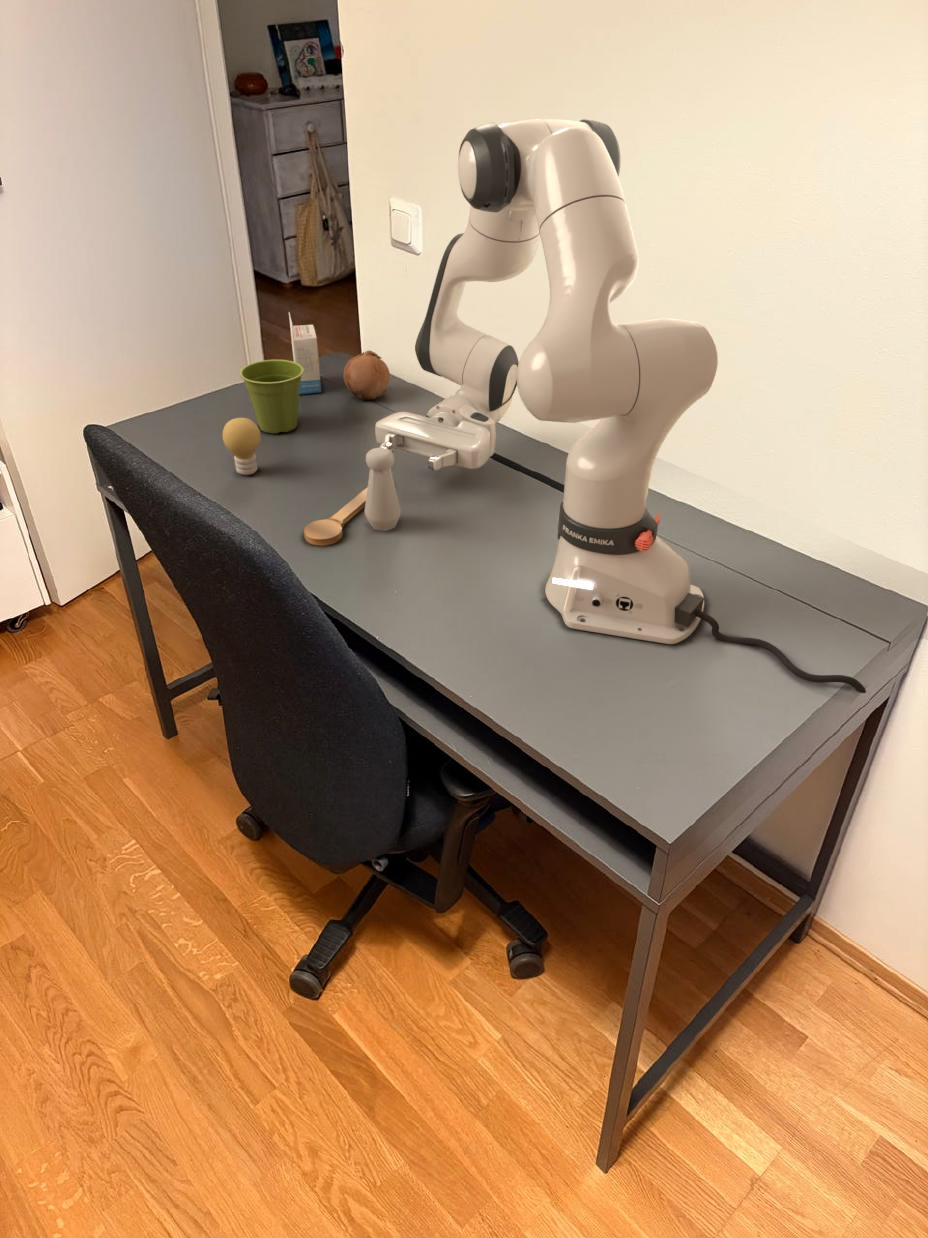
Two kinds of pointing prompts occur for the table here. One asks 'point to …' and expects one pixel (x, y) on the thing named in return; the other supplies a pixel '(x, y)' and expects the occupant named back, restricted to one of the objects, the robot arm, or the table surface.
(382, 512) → the salt shaker
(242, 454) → the light bulb
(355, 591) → the table surface
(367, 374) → the onion
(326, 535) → the wooden spoon
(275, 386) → the plant pot
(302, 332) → the ink box
